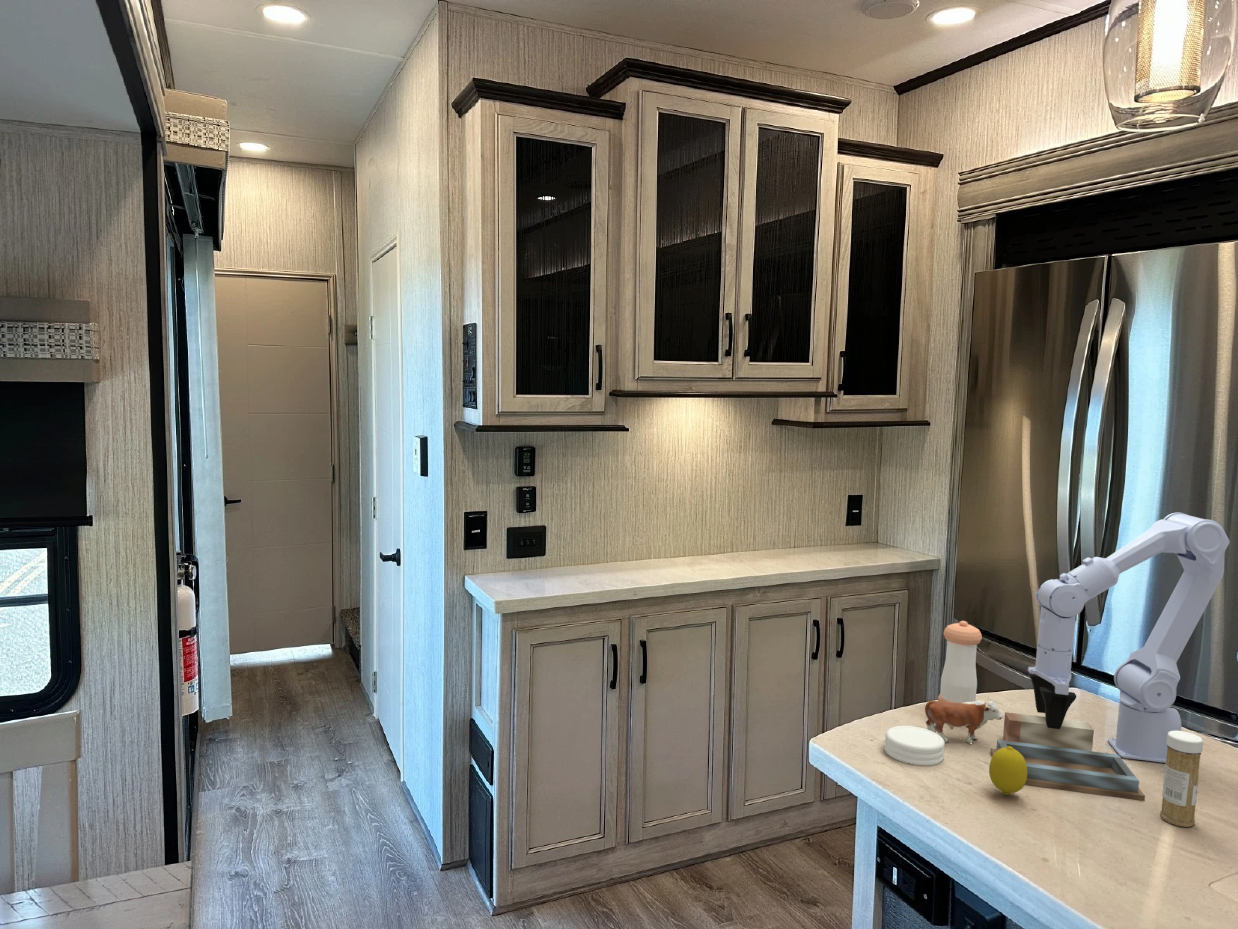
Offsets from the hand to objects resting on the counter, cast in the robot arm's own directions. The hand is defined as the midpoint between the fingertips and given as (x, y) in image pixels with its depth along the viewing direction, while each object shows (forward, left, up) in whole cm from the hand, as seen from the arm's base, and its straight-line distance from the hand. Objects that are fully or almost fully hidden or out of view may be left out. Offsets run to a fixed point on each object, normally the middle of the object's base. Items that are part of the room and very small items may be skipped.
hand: (1048, 720), depth 158 cm
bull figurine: (+15, +2, -5) cm, 16 cm away
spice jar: (-13, +24, -5) cm, 28 cm away
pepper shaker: (+14, -11, -5) cm, 19 cm away
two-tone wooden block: (0, 0, -5) cm, 5 cm away
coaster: (+24, +11, -6) cm, 27 cm away
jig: (0, +12, -5) cm, 13 cm away
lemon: (+11, +23, -5) cm, 26 cm away
